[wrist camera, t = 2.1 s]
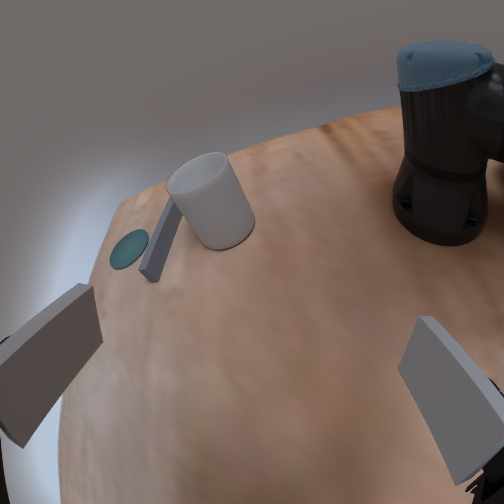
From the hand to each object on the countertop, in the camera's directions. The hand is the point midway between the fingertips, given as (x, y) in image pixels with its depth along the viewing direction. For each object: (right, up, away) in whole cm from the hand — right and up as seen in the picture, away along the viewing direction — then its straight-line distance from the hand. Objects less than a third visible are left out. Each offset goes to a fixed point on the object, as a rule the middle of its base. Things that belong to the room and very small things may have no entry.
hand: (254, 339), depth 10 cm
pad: (-25, +4, +41) cm, 48 cm away
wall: (-15, +5, +38) cm, 41 cm away
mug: (-5, +7, +35) cm, 36 cm away
